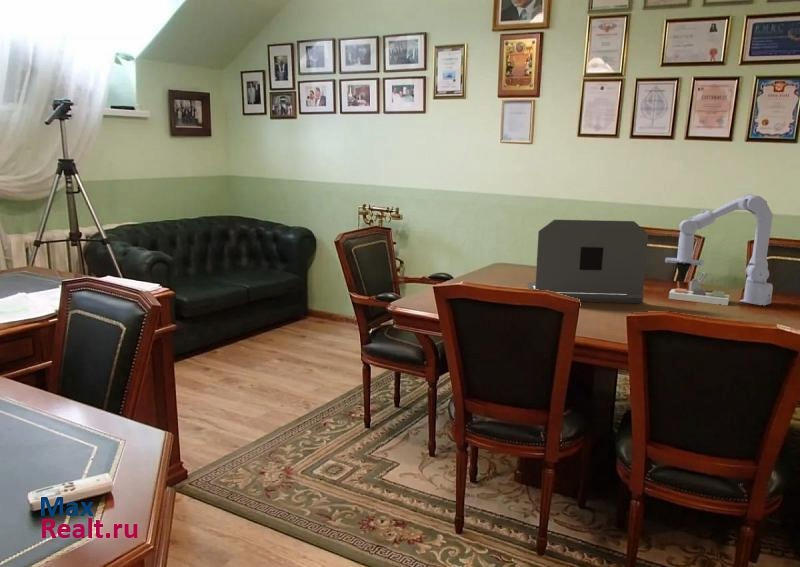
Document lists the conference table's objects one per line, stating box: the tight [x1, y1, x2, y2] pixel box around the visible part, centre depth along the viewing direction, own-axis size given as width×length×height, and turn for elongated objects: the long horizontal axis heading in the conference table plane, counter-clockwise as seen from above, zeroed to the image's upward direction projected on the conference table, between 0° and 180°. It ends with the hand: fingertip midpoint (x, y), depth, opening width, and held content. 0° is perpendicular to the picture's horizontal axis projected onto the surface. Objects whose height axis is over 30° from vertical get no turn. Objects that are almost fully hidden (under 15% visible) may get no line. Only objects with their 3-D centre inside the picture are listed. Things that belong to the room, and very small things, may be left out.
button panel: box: [668, 288, 730, 306], centre depth 256 cm, size 22×9×2 cm, turn 60°
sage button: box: [711, 290, 725, 298], centre depth 252 cm, size 4×4×3 cm
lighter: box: [688, 272, 708, 291], centre depth 273 cm, size 7×2×8 cm, turn 100°
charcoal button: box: [693, 288, 707, 296], centre depth 256 cm, size 4×4×3 cm
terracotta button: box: [674, 288, 688, 294], centre depth 259 cm, size 4×4×3 cm
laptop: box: [526, 219, 649, 304], centre depth 261 cm, size 43×31×34 cm
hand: (682, 280), depth 258 cm, fingers closed
